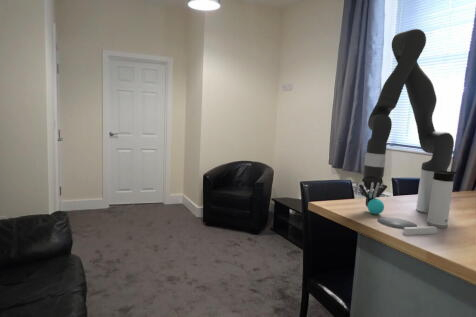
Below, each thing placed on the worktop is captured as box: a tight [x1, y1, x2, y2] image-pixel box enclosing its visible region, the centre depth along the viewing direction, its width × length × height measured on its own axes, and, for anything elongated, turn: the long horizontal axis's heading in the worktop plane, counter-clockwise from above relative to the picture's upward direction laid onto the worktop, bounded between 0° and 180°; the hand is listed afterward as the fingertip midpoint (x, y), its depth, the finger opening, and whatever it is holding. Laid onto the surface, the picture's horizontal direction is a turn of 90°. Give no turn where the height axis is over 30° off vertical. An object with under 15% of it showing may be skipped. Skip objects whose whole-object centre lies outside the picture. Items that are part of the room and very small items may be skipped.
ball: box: [367, 198, 385, 215], centre depth 132 cm, size 6×6×6 cm
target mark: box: [377, 216, 418, 230], centre depth 122 cm, size 13×13×1 cm
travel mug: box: [426, 170, 457, 229], centre depth 120 cm, size 6×7×20 cm
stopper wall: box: [402, 225, 438, 236], centre depth 112 cm, size 12×2×2 cm, turn 106°
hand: (369, 207), depth 136 cm, fingers closed
